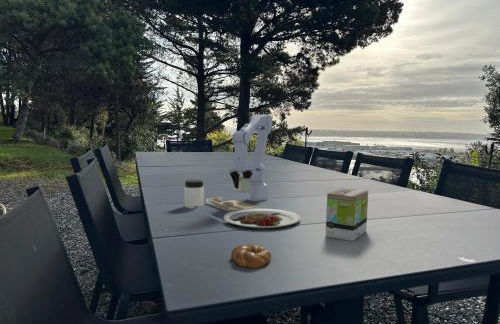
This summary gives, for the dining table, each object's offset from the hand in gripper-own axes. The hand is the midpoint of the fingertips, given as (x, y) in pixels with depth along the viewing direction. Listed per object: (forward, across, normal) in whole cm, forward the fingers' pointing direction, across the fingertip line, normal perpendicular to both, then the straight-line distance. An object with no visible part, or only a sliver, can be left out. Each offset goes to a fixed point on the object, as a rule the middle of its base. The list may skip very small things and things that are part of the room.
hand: (241, 187), depth 168 cm
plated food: (+10, -6, -25) cm, 27 cm away
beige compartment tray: (+9, -3, +3) cm, 10 cm away
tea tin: (+2, 0, 0) cm, 2 cm away
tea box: (+9, +8, -56) cm, 57 cm away
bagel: (+10, -34, -61) cm, 70 cm away
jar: (+9, -17, +13) cm, 24 cm away
